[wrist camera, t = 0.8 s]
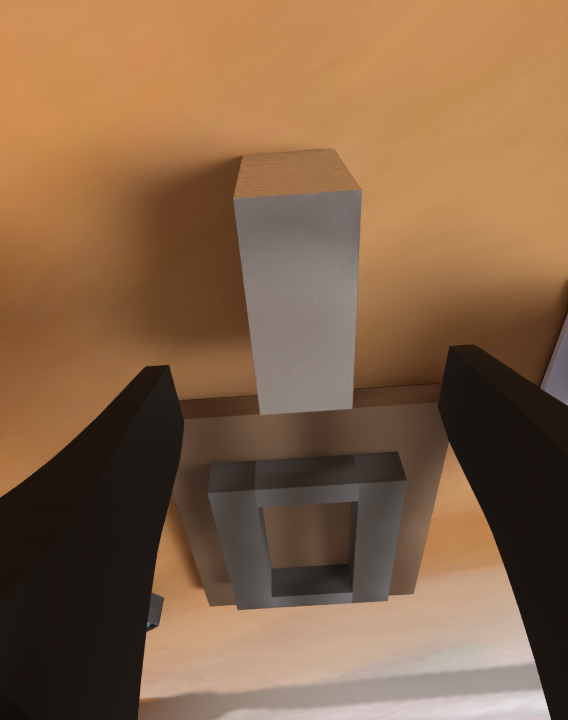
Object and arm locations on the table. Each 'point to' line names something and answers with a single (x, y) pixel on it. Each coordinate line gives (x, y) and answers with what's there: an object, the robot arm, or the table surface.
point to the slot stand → (310, 497)
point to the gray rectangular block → (300, 276)
